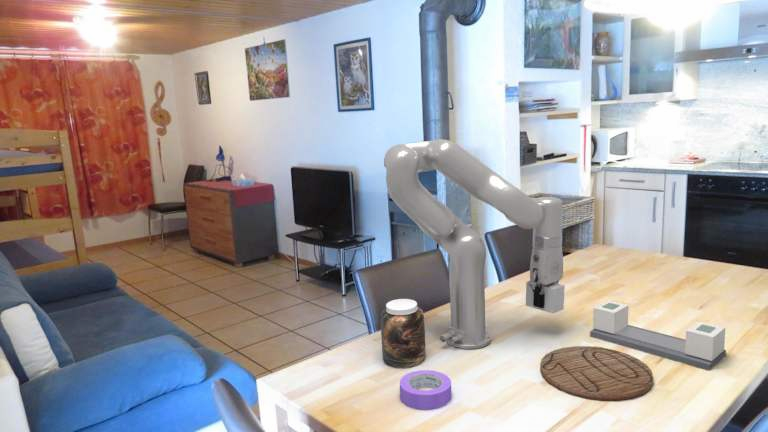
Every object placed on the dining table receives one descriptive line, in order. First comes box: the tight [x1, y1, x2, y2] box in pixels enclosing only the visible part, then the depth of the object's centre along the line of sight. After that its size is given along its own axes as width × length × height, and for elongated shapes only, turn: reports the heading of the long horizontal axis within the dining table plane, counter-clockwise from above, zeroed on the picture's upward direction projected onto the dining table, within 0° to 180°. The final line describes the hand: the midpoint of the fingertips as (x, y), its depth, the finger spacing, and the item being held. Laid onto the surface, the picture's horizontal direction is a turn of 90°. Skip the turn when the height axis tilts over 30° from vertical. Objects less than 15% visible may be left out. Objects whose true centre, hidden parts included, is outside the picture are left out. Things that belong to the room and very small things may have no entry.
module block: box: [525, 280, 565, 315], centre depth 153 cm, size 5×9×7 cm, turn 41°
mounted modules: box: [592, 300, 726, 361], centre depth 142 cm, size 8×30×6 cm, turn 41°
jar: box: [380, 298, 427, 369], centre depth 142 cm, size 12×12×15 cm
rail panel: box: [589, 324, 727, 371], centre depth 143 cm, size 11×30×2 cm, turn 41°
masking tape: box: [399, 369, 452, 411], centre depth 123 cm, size 12×12×4 cm
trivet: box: [539, 345, 654, 402], centre depth 129 cm, size 25×25×2 cm
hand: (544, 303), depth 153 cm, fingers closed on module block, 5 cm apart
